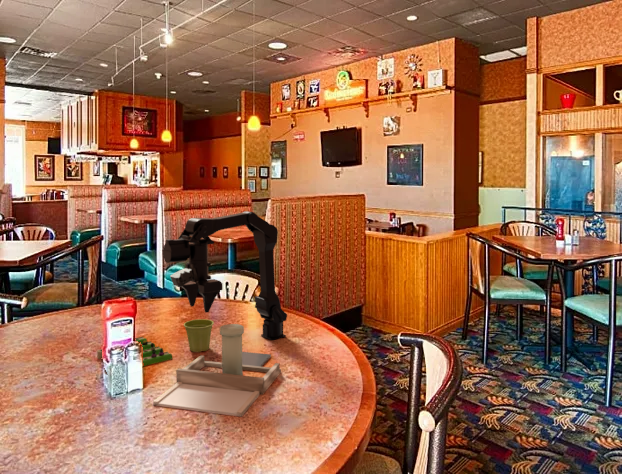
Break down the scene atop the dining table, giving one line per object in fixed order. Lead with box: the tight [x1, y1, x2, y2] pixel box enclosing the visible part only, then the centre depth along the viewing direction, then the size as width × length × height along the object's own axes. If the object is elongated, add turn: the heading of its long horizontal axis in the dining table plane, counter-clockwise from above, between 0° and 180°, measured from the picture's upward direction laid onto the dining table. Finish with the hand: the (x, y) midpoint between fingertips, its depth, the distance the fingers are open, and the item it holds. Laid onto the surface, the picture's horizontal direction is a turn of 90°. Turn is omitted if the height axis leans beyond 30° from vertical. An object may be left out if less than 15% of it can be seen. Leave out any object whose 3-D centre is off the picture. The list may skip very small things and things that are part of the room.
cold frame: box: [175, 355, 282, 395], centre depth 138 cm, size 15×24×4 cm, turn 76°
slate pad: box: [242, 351, 272, 367], centre depth 150 cm, size 11×11×1 cm
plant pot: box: [183, 318, 215, 353], centre depth 160 cm, size 9×9×9 cm
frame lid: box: [152, 381, 260, 418], centre depth 124 cm, size 12×23×1 cm, turn 76°
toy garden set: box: [96, 336, 173, 367], centre depth 155 cm, size 23×19×5 cm
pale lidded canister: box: [219, 323, 245, 376], centre depth 139 cm, size 7×7×14 cm
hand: (199, 309), depth 154 cm, fingers open, 9 cm apart
